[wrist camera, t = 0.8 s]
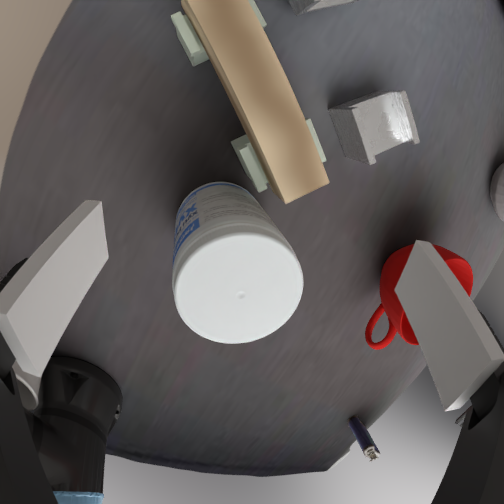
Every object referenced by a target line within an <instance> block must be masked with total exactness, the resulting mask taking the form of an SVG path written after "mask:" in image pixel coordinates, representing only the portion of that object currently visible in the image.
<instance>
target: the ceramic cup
mask: <svg viewBox="0 0 504 504" xmlns="http://www.w3.org/2000/svg"><path fill="white" fill-rule="evenodd" d="M432 246H433V247H434V248H435V249H436V251H437V252H438V253H439V255H440V256H441V257H442V259H443V260H444V261H445V263H446V264H447V266H448V267H449V268H450V270H451V271H452V273H453V274H454V275H455V277H456V278H457V280H458V281H459V282H460V284H461V285H462V287H463V288H464V290H465V291H466V293H467V294H468V296H469V297H470V294H471V290H472V285H473V274H472V269H471V267H470V265H469V263H468V262H467V261H466V260H465V259H463V258H462V257H460V256H459V255H457V254H455V253H453V252H451V251H449V250H447V249H445V248H443V247H440V246H437V245H433V244H432ZM413 247H414V244H412V245H409V246H406V247H403V248H402V249H399V250H397V251H395V252H394V253H393V254H391V255H390V257H389V258H388V259H387V260H386V262H385V264H384V266H383V268H382V273H381V278H380V297H381V302H382V303H381V304H380V306H379V307H378V308H377V310H376V311H375V312H374V314H373V315H372V317H371V319H370V320H369V322H368V324H367V327H366V331H365V338H366V342H367V343H368V345H369V346H370V347H371V348H373V349H377V350H378V349H382V348H384V347H386V346H387V345H388V344H389V343H390V342H391V341H392V340H393V338H394V336H395V334H396V332H398V333H399V334H400V336H401V337H402V338H403V339H404V340H405V341H406V342H408V343H410V344H413V345H419V343H418V340H417V338H416V336H415V334H414V331H413V329H412V327H411V324H410V322H409V320H408V318H407V316H406V313H405V311H404V309H403V307H402V305H401V303H400V300H399V298H398V296H397V294H396V292H395V288H396V285H397V283H398V281H399V279H400V277H401V274H402V272H403V270H404V268H405V265H406V263H407V261H408V259H409V256H410V254H411V251H412V249H413ZM384 311H385V312H386V314H387V316H388V320H389V331H388V333H387V335H386V337H385V338H384V339H383V340H382V341H380V342H378V343H374V342H372V339H371V335H372V330H373V328H374V326H375V324H376V322H377V321H378V319H379V318H380V316H381V315H382V314H383V312H384Z"/></svg>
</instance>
